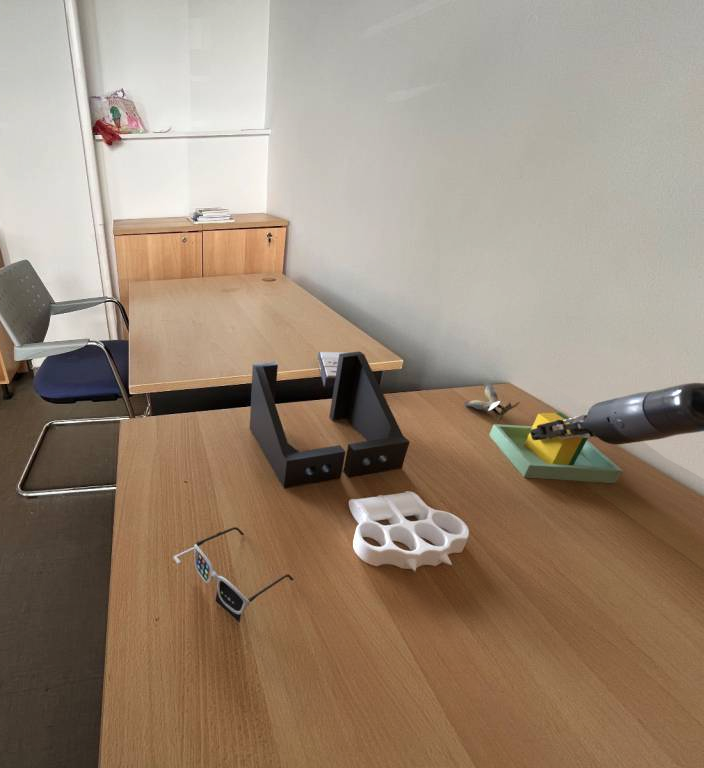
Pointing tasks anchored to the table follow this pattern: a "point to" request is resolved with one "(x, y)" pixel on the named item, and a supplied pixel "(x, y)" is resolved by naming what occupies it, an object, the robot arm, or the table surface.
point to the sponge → (555, 443)
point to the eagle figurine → (490, 402)
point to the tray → (585, 468)
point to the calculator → (328, 367)
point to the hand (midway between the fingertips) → (548, 434)
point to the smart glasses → (223, 580)
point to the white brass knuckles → (405, 531)
